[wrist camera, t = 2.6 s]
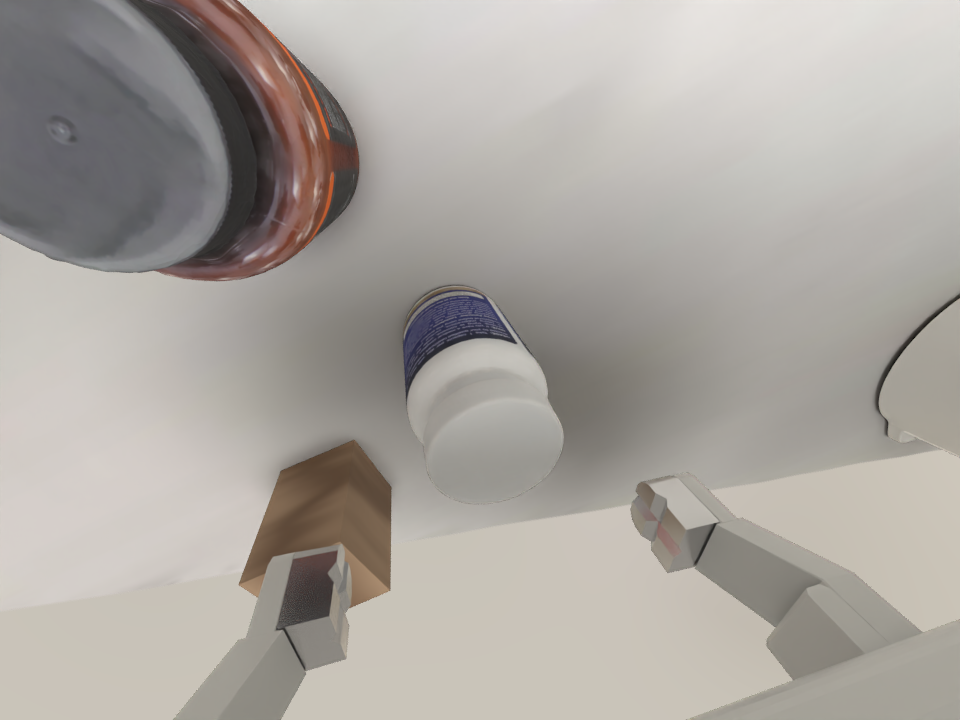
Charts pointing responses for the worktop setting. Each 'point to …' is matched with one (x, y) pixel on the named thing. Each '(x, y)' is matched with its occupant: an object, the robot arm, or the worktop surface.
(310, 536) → the walnut block
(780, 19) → the worktop surface
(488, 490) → the pill bottle
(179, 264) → the supplement bottle
